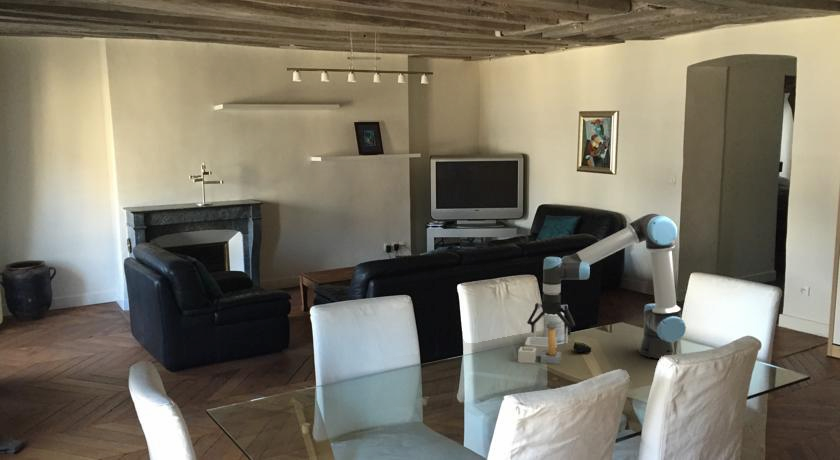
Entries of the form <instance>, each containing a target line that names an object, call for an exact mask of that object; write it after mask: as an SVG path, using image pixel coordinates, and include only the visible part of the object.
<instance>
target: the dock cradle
mask: <svg viewBox="0 0 840 460" xmlns="http://www.w3.org/2000/svg"><path fill="white" fill-rule="evenodd" d="M523 347H534V348H536V357H541V354H542V351H548V337H544V336H536V341H534V336H529V335H528V336H527V337H526V340H525V342H524V344H523ZM556 348H558V344H557V338H555V349H556Z"/></svg>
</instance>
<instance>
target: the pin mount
mask: <svg viewBox="0 0 840 460" xmlns="http://www.w3.org/2000/svg"><path fill="white" fill-rule="evenodd" d="M561 360H562V352H561V351H555V356H552V355H548V351H542V354H541V356H540V363H541V364H550V365H551V364H552V365H553V364H554V365H560V364H561Z"/></svg>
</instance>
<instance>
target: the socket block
mask: <svg viewBox="0 0 840 460" xmlns="http://www.w3.org/2000/svg"><path fill="white" fill-rule="evenodd" d="M517 352H518V353H517V354H518V355H517V357H518V358H517V362H518V363H522V364H535V363H536V361H537V356H536V348H534V347H524V346H520V347H519V348H518V351H517Z"/></svg>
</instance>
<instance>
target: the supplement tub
mask: <svg viewBox="0 0 840 460" xmlns="http://www.w3.org/2000/svg"><path fill="white" fill-rule="evenodd" d="M560 312H561V314H562V315H563V316H564V317H565V313H564V312H562V311H560ZM547 324H556V328H555V338H557V345H563V344H564V343H565V323H564V322H563V321H562V320H561V318H560V317H559V316H558V315H557V314H555V315H552V314H549V315H548V314H546V313H545V314H544V315H543V337H548V328H547Z"/></svg>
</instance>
